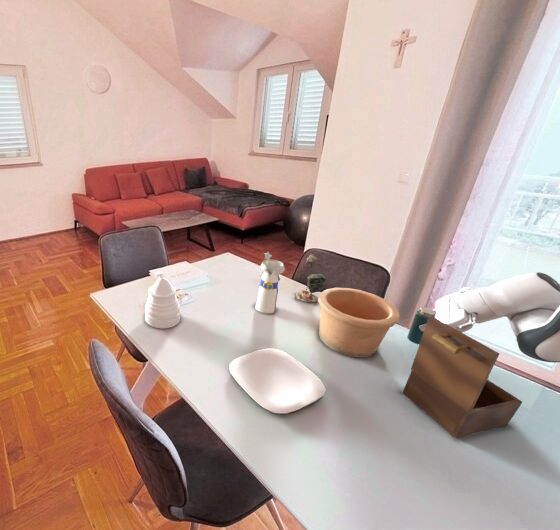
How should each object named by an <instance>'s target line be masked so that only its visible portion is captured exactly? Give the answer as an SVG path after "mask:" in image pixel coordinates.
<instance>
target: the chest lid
mask: <svg viewBox="0 0 560 530" xmlns="http://www.w3.org/2000/svg"><path fill="white" fill-rule="evenodd" d="M499 356H500V353H499V352H498V351H496V350H494V349H493V348H490V347H489V346H487V345H485V344H483V343H482V342H479V341H478V340H476V339H474V338H473V337H470V336H469V335H467V334H465V333H464V332H460V331H458V330H456V329H454V328H453V327H451V326H449V325H447V324H445V323H443V322H442V321H440V320H438V319H436V318H434V317H433V316H429V318H428V321H427V324H426V327H425V330H424V333H423V335H422V338H421V341H420V344H418V348H417V351H416V354H415V356H414V359H413V361H412V365H411V367H410V370H411V371H412V370H413V371H414V372H415V373H417V374H418V375H419V376H421V377H422V378H423V379H425V380H426V381H427V382H428V383H430V384H431V385H432V386H434V387H435V388H436V389H438V390H439V391H440V392H442V393H443V394H444V395H446V396H447V397H448V398H450V399H451V400H452V401H454V402H455V403H456V404H458V405H459V406H460V407H462V408H463V409H464V410H466V411H467V412H468V413H469V412H472V410H473V408H474V406H475V404H476V401H477V399H478V397H479V395H480V393H481V391H482V389H483V387H484V385H485V383H486V381H487V379H488V380H489V376H490V374H491V373H492V371H493V369H494V366H495V364H496V362H497V360H498V358H499Z"/></svg>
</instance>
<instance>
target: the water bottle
mask: <svg viewBox="0 0 560 530" xmlns="http://www.w3.org/2000/svg"><path fill="white" fill-rule="evenodd" d="M263 255H264V260H263V261H262V262H261V264H260V270H261V273H262V274H260V275H259V276H260V282H259V283H260V284H259V285H258V289H257V295H256V299H255V300H256V301H255V304H254V308H255V310H256V311H257V312H259V313H261V314H269V315H270V314H273V313H275V312H276V310H277V309H276V308H277V300H278V293H279V282H280V280H281V278H280V275H281V274H283V273H284V272H285V271H286V268H285V265H284V263H283V262H282V261H280V260H278V259H271V258H272V257H273V255H272V254H270V251H267V252H263Z"/></svg>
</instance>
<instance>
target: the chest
mask: <svg viewBox="0 0 560 530" xmlns="http://www.w3.org/2000/svg"><path fill="white" fill-rule="evenodd" d="M401 393H402V394H403V395H404V396H405V397H406V398H408V399H409V400H410V401H411V402H412V403H413V404H415V406H417V407H418V408H419V409H421V410H422V411H423V412H424V413H425V414H426V415H428V416H429V417H430V418H431V419H432V420H434V422H436V423H437V424H438V425H440V427H441V428H443V429H444V430H445V431H447V432H448V433H449V434H450V435H452V437H454V438H455V439H457V438H461V437H467V436H470V435H474V434H478V433H482V432H486V431H490V430H495V429H498V428H504V427H507V426H508V425H509V423H510V422H511V420H512V419H513V418H514V416H515V414H516V413H517V411H518V410H519V408H520V407H521V405H522V404H523V400H521V399H519V398H518V397H516V396H514V395H513V394H511V393H510V392H508V391H506V390H505V389H503V388H502V387H500V386H499V385H497V384H495V383H494V382H492V381H491V380H489V378H488V379H487V381H486V383H485V385H484V387H483V389H482V391H481V393H480V395H479V397H478V399H477V401H476V404H475V406H474V408H473V410H472V412H469V413H468V412H467V411H466V410H464V409H463V408H462V407H460V406H459V405H458V404H456V403H455V402H454V401H452V400H451V399H450V398H448V397H447V396H446V395H444V394H443V393H442V392H440V391H439V390H438V389H436V388H435V387H434V386H432V385H431V384H430V383H428V382H427V381H426V380H425V379H423V378H422V377H421V376H419V375H418V374H417V373H415V372H414V371H413V370H411V371H410V374H409V376H408V379H407V380H406V383H405V385H404V387H403V390H402V392H401Z"/></svg>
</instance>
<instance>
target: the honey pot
mask: <svg viewBox="0 0 560 530" xmlns="http://www.w3.org/2000/svg"><path fill="white" fill-rule="evenodd" d="M155 275H156V277H157V278H158V279H157V280H156V281H155V283H154V284H153V285H151V286H150V287H148V289H147V294H148V296H147V299H146V303H145V306H144V320H145V322H146V324H147V325H149V327H150V326H151V327H153V328H156V329H170V328H173V327H174V326H176V325H178V324H179V322H180V320H181V305H180V302H179V300H178V296H177V294H176V293H177V289H176V288H175V287H174V286H172V284H171V282H170V281H169V279H167V278H166V277H164V271H162V270H161V271H160V270H157V271H155Z"/></svg>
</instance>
